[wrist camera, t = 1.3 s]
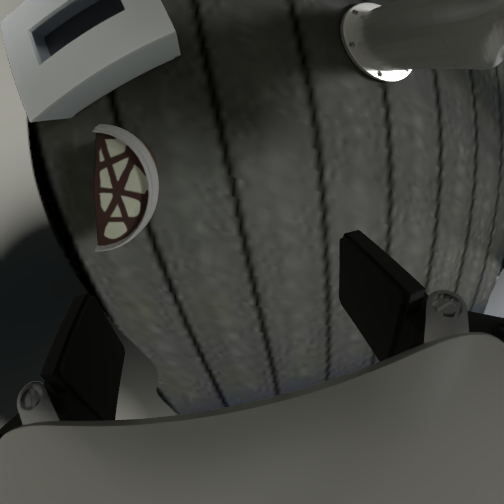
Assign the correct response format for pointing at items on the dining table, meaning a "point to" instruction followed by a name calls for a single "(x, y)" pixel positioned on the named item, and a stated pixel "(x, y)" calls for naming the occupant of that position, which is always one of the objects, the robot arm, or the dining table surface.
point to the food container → (122, 186)
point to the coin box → (83, 50)
